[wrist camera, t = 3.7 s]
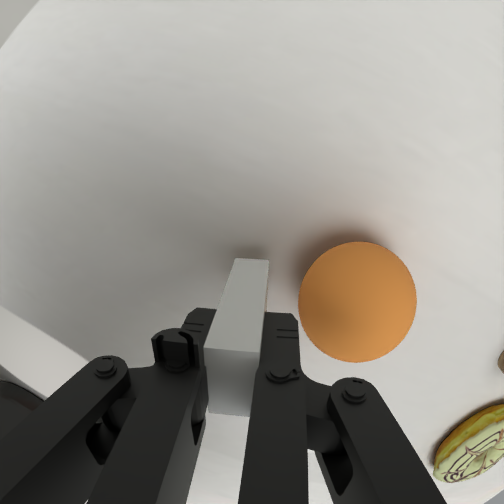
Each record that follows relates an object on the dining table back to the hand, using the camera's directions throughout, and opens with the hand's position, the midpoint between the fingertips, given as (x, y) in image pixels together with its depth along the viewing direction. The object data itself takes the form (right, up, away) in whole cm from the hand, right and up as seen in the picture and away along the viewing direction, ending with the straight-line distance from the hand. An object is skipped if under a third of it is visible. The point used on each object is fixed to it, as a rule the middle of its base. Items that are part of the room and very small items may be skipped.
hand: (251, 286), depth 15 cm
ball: (+5, -1, 0) cm, 5 cm away
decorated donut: (+22, -17, +8) cm, 29 cm away
